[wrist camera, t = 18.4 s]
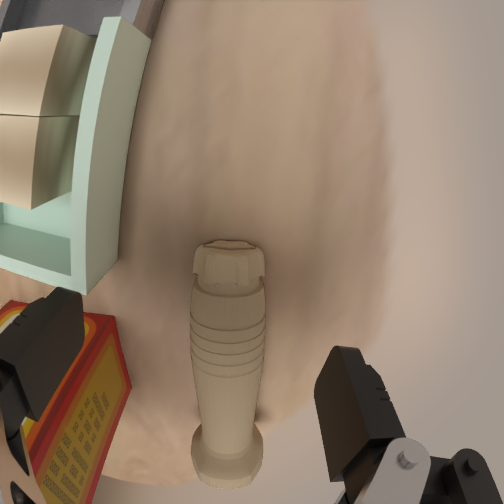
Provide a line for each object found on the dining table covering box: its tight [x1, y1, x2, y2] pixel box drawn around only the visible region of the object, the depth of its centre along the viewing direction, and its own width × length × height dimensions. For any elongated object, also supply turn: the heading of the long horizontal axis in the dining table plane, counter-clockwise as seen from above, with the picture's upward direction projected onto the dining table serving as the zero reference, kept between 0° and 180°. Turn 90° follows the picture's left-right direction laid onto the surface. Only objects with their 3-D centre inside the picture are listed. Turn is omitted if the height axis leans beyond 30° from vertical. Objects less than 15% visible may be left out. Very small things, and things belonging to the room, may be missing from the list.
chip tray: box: [0, 16, 152, 296], centre depth 12 cm, size 12×10×4 cm
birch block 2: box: [0, 114, 80, 210], centre depth 12 cm, size 4×4×4 cm
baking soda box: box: [0, 300, 132, 504], centre depth 12 cm, size 10×6×16 cm
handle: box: [190, 240, 265, 489], centre depth 16 cm, size 5×6×15 cm
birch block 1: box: [0, 25, 97, 116], centre depth 10 cm, size 4×4×4 cm
